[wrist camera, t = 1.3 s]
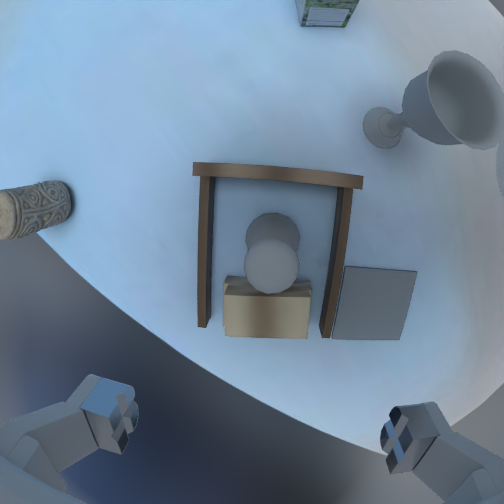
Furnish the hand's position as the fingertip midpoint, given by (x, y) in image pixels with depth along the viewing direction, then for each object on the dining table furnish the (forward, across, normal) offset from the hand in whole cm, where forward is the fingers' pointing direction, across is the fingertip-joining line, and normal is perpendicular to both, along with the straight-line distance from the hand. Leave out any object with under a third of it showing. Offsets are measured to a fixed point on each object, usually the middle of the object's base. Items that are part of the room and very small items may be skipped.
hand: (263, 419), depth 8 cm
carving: (+28, +30, -2) cm, 41 cm away
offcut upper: (+25, 0, +8) cm, 26 cm away
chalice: (+28, -12, -14) cm, 33 cm away
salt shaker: (+28, 0, 0) cm, 28 cm away
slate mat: (+28, -14, +8) cm, 32 cm away
